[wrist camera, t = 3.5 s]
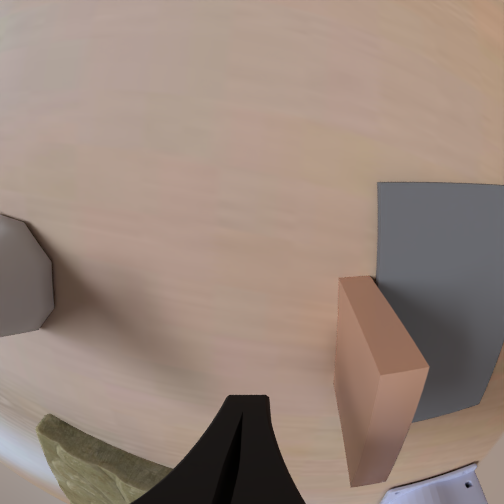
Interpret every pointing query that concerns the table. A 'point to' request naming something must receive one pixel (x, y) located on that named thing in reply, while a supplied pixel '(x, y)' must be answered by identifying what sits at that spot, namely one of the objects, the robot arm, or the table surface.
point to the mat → (445, 283)
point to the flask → (23, 280)
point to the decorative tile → (94, 466)
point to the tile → (374, 380)
